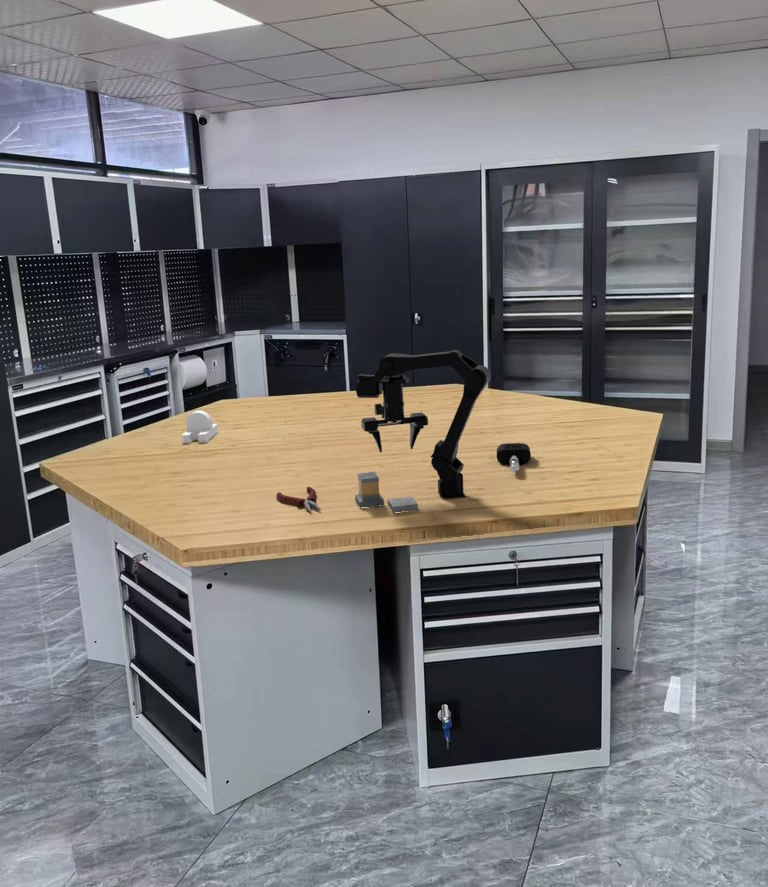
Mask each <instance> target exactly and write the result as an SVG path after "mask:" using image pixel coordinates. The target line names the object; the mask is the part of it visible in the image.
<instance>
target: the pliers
mask: <svg viewBox="0 0 768 887" xmlns="http://www.w3.org/2000/svg"><path fill="white" fill-rule="evenodd" d="M306 493H307V494H308V496H307V497H306V499H305V498H303V497H302V498H301V497H300V498H299V497H295V496H289V495H285V494H283V493H282V492H281V491H278V492H277V493H276V500H278V501H279V503H281V504H282V503H283V504H287V505H293V506H296V508H304V509H305V510H306V511H308V512H309V513H312V509H311V508H313V510H314V509H315V511H321V510H322V509H321V507H320V506H318V504H317V498H316V496H317V491H316V490H315V489H314V488H313V487H311V486H307V487H306Z"/></svg>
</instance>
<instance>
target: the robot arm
mask: <svg viewBox="0 0 768 887" xmlns="http://www.w3.org/2000/svg"><path fill="white" fill-rule="evenodd" d="M378 367H379V368H378V369H377V371H376V372H375V374H364V373H360V374H359V375H357V382H356V387H355V393H356V396H357V398H358V399H362V398H363V399H379V397H380V395H382V396H383V397H382V399H383V400H382V403H375V404H374V415H375V416H381V419H378V420H377V419H376V418H375V417H365V418H362V419H361V421H360V423H361V425H360V426H361V428H362V430H363V431H364V432H367V433H368V434H370V435H372V436H373V438H374V441H375V443H376V446H377V449H378V451H379V453H380V454H381V453H383V451H382V450H383V448H382V447H383V446H382V440H381V439H382V438H381V433H380V431H379V428H380V427H388V426H397V425H398V426H399V425H408V424H409V428H410V434H409V446H410V449H411V450H413V449H414V446H415V444H416V439H417V438H418V436H419V434H420V431H421V430H423V429H424V428H425V427H424V426H428V425H429V419H428V416H427V415H425V413H424V412H414V413H410V414H409V416H405V403H404V388H403V386H404V385H403V384H407V383H409V382H410V378H408V377H407V376H406V375H405V374H404V373H406V372H408V371H412V370H422V369H431V368H442V367H452V368H453V369H454V370H455V371H456V373H457V374H458V375H459V376H460V377H461V378H462V379H464V384H463V385H464V386H463V390H462V391H463V392H462V393H463V394H462V398H461V400H460V402H459V404H458V407H457V410H456V412H455V414H454V416H453V419H452V422H451V424H450V427H449V428H448V431H447V433H446V435H445V437H444V440H442V439H440V440H439V441H437V443H436V444H435V445H434V449H433V453H432V454H431V455H430V458H431V461H430V463H431V466H432V468H433V470H435V471H436V473H437V476H438V477H439V479H437V493H438V494H439V495H440V497H441V498H443V500H449V499H450V500H451V499H457V498H458V499H459V498H464V497H466V494H465V493H464V475H463V473H462V472H463V469H464V466H465V464H464V463H463V462H462V461H461V460H460V459H459V458H458V457H457V456H458V455H457V454H458V450H459V442H460V439H461V438H462V435H463V432H464V430H465V428H466V426H467V422H469V421H468V420H469V419H470V416H471V413H472V411H473V409H474V406H475V404H476V401H477V400H478V399H479V397H480V396H481V394H482V393H483V391H484V389H485V388H486V387H487V386H488V383H489V382H490V380H491V376H492V375H491V371H490V370H489V368H488V367H487V366H484V365H483V364H481V365H480V364H479V363H477V362H476V361H474V360H473V359H472V358H470V357H468V356H466V355H465V354H464V353H462V352H461V351H460V350H457V349H453V350H451V351H442V352H433V353H422V354H416V355H415V354H413V355H412V354H407V353H396V352H395V353H394V352H393V353H389V354H387V355H386V356H384V357H382V358H381V359H380V361H379V364H378ZM397 375H399V376H397ZM386 377H389V378H388V379H384V378H386Z"/></svg>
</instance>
